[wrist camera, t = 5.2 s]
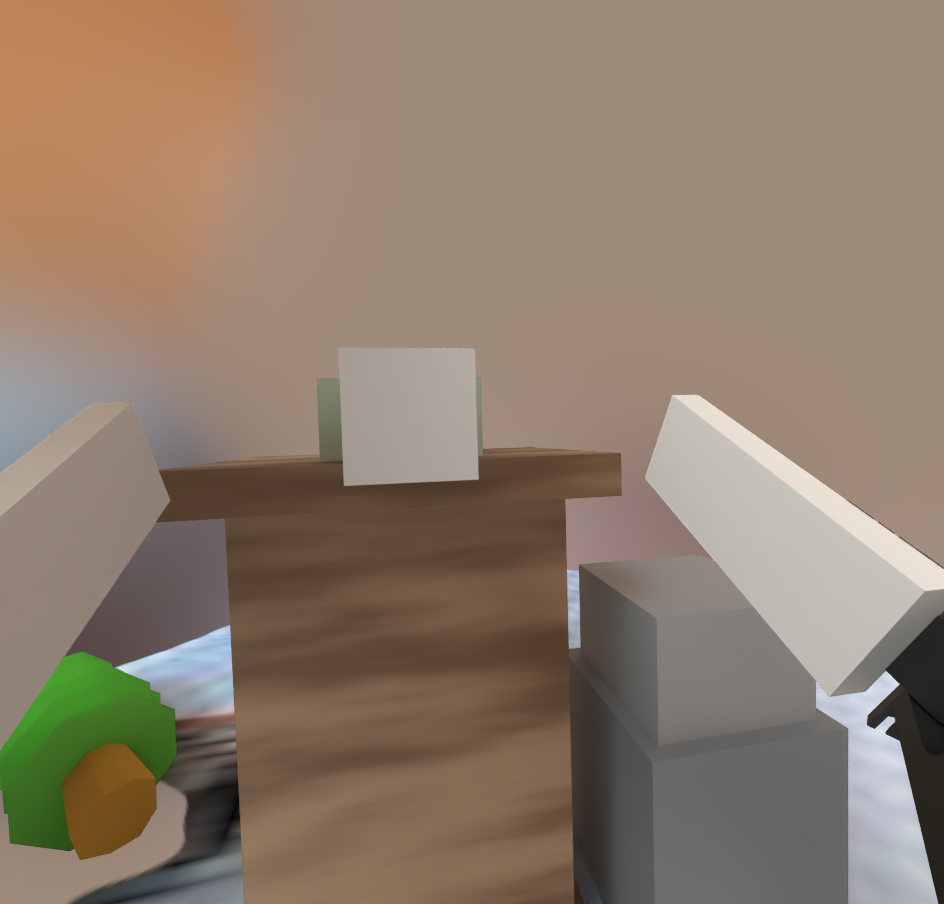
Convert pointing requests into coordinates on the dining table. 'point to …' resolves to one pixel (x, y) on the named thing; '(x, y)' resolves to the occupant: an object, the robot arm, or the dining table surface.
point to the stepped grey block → (699, 746)
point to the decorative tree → (86, 759)
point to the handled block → (402, 415)
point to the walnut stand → (400, 675)
